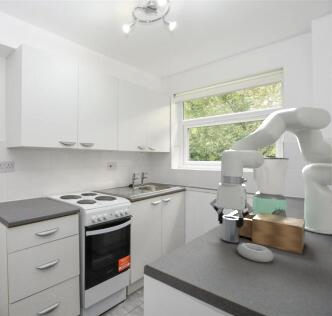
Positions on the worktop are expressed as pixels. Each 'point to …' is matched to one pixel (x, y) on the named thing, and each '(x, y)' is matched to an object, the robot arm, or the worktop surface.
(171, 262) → the worktop surface
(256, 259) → the donut
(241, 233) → the drawer
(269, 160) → the juicer
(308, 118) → the robot arm
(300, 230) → the cabinet
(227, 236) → the measuring cup
